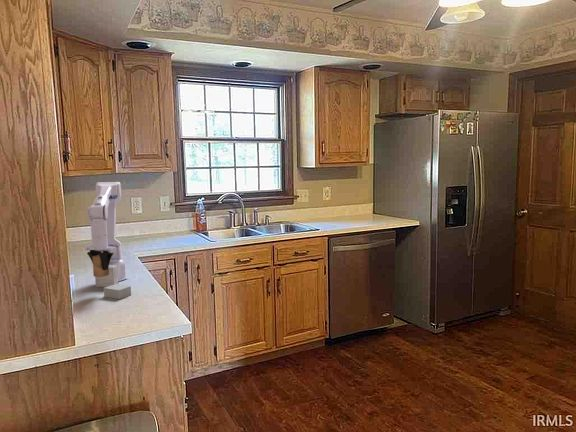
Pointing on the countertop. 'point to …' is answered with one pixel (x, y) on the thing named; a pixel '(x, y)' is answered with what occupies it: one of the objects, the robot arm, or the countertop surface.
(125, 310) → the countertop surface
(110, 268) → the medicine box
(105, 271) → the oak column
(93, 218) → the robot arm
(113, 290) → the light grey riser
